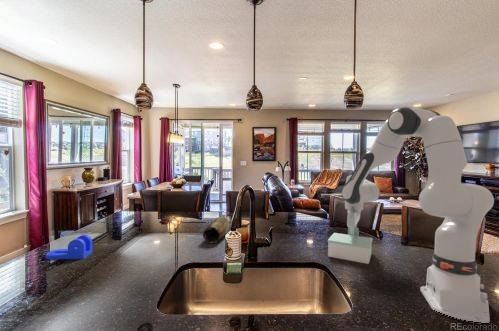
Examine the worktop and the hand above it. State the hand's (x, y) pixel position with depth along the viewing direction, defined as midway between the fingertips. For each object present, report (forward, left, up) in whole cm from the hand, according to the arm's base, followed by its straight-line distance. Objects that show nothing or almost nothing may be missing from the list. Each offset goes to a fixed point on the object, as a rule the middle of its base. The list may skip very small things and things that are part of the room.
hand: (353, 232), depth 140 cm
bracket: (-78, +116, -10) cm, 140 cm away
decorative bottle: (-9, +76, -9) cm, 77 cm away
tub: (-9, 0, -9) cm, 13 cm away
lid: (-8, 0, -3) cm, 8 cm away
